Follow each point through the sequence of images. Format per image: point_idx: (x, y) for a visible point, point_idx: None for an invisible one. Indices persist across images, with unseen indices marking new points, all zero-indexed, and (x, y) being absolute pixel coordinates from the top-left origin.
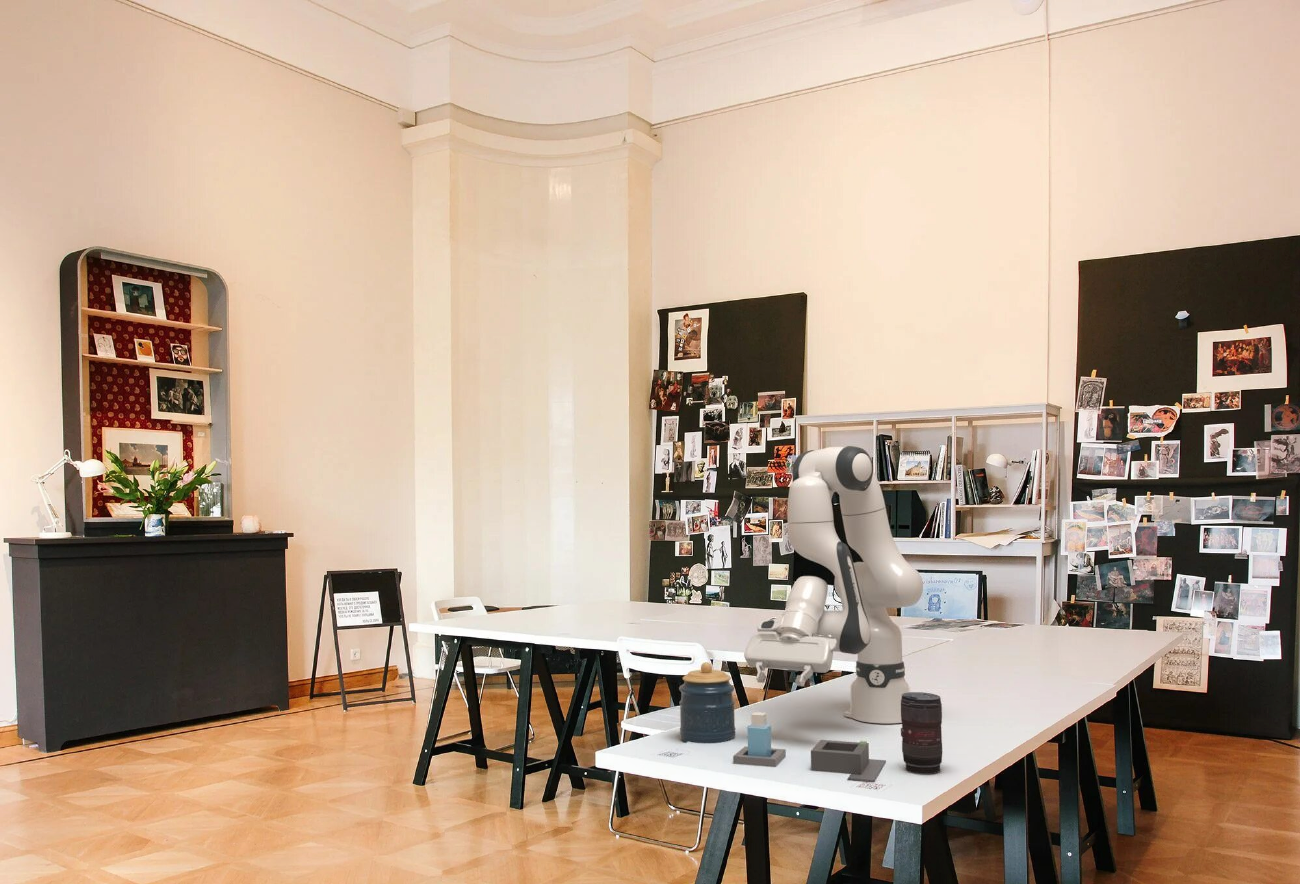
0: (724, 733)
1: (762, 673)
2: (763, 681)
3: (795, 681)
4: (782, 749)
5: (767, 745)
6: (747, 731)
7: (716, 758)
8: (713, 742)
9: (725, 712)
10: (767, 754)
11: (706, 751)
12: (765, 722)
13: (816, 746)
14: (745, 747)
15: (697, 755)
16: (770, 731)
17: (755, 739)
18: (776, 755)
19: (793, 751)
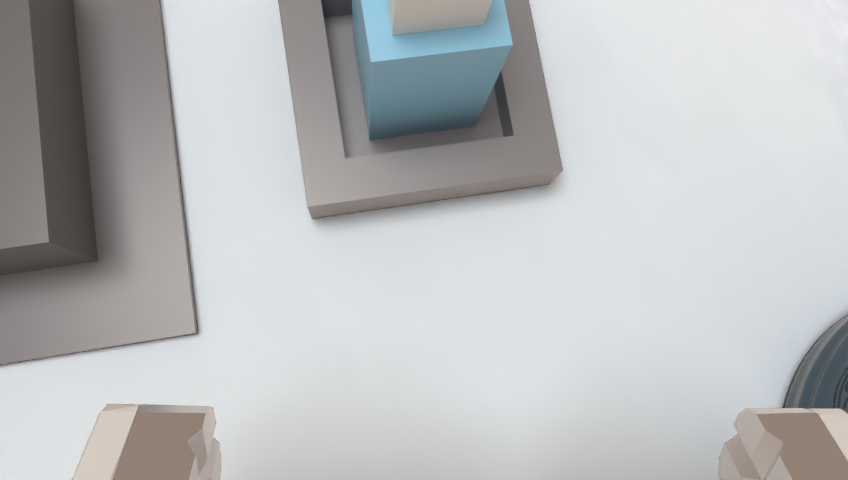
0: (821, 385)
1: (809, 475)
2: (726, 447)
3: (210, 408)
4: (324, 195)
5: (355, 20)
6: None
7: (656, 69)
8: (833, 329)
9: None
10: (356, 42)
11: (780, 182)
12: None
13: (20, 50)
14: (545, 144)
15: (774, 84)
16: (368, 70)
17: None
18: (300, 46)
19: (337, 409)
